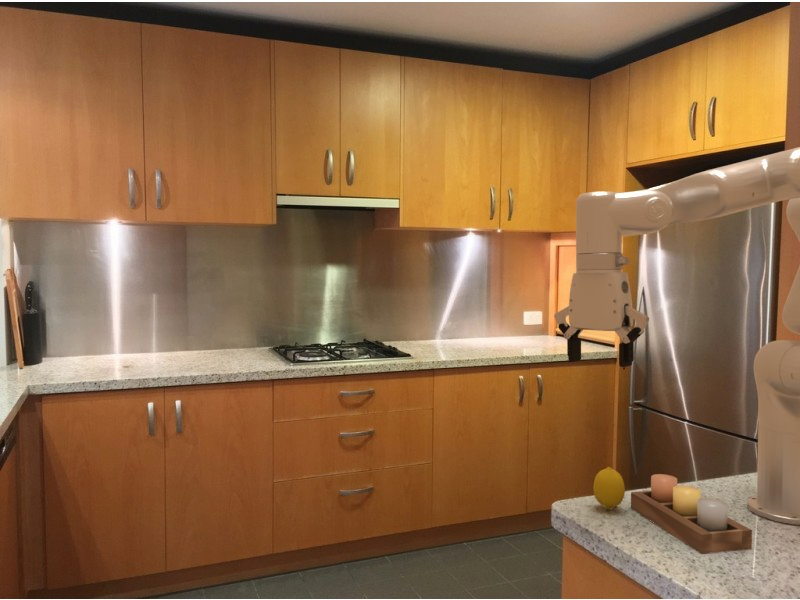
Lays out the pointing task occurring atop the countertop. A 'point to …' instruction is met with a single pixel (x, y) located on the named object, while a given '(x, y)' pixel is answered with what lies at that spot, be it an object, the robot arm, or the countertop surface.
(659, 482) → the pink cylinder
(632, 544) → the countertop surface
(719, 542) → the wooden compartment tray
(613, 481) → the lemon
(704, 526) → the grey short rounded cylinder
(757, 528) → the countertop surface
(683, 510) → the yellow short cylinder
